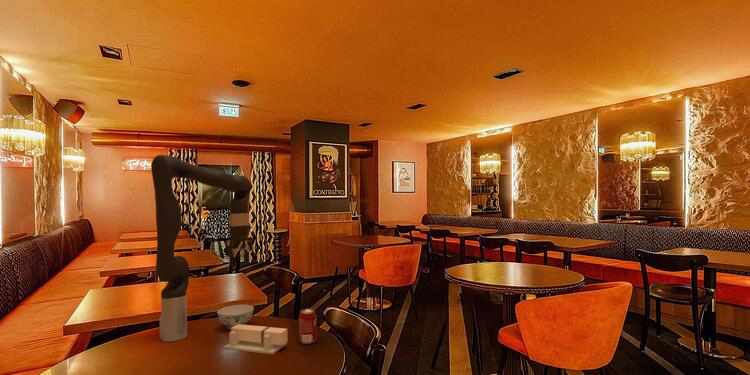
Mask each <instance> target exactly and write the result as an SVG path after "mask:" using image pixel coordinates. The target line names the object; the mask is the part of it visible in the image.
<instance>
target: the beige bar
mask: <svg viewBox="0 0 750 375" xmlns="http://www.w3.org/2000/svg"><path fill="white" fill-rule="evenodd" d="M232 331H234V332H237V340H241V341H250V342H259V343H264V336H265V335H271V344H277V345H282V344H284V343H285V342H288V341H289V340H288V337H289V336H288V332H289V331H288V328H282V327H271V326H262V325H261V326H260V325H251V324H250V325H249V324H244V325H242V324H238V325H236V326H234V327H232V328H231V330H230V332H232Z"/></svg>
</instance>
